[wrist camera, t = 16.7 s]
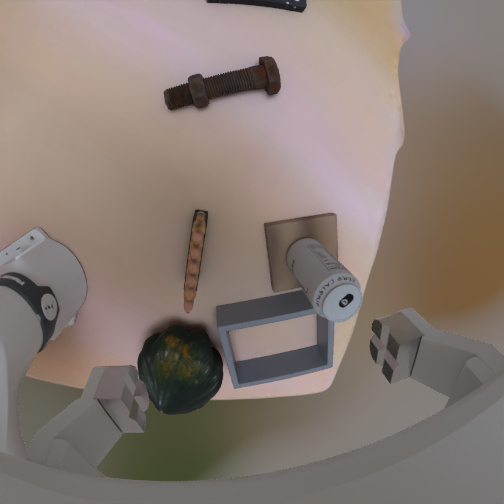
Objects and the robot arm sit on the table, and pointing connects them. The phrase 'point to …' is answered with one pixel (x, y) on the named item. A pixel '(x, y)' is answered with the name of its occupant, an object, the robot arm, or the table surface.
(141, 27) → the table surface
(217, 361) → the squash
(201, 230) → the ammunition clip
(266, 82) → the bolt
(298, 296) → the grey rectangular open frame
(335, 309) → the energy drink can
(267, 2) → the disk drive
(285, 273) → the walnut pad
